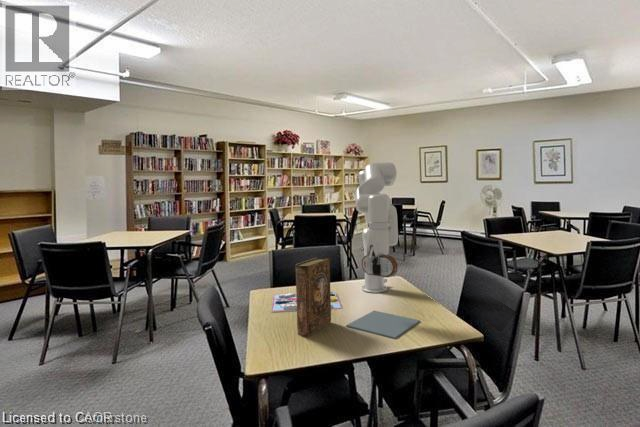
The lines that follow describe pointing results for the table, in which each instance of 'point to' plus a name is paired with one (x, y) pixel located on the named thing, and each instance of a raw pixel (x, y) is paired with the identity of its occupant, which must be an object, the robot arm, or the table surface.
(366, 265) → the tin
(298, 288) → the book
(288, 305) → the puzzle board
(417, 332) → the table surface
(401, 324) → the mat
